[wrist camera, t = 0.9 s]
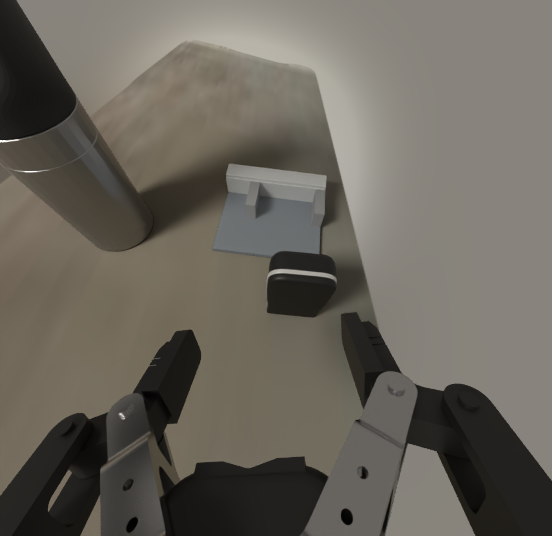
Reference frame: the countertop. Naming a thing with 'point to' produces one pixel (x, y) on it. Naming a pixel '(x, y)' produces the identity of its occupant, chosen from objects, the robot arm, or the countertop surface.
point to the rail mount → (271, 212)
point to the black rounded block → (299, 283)
